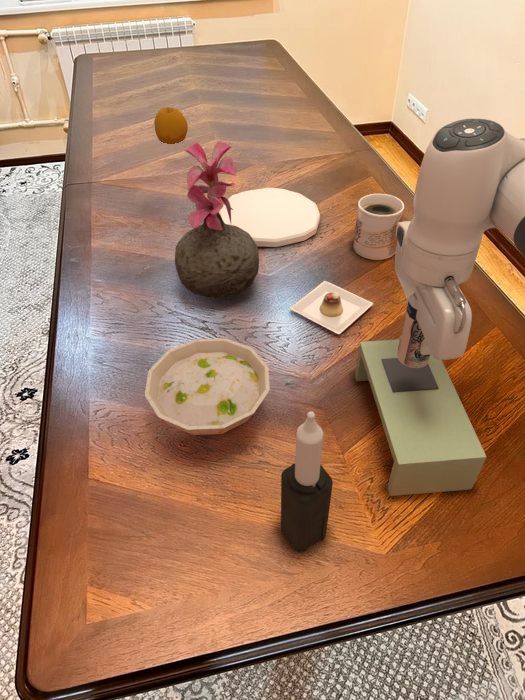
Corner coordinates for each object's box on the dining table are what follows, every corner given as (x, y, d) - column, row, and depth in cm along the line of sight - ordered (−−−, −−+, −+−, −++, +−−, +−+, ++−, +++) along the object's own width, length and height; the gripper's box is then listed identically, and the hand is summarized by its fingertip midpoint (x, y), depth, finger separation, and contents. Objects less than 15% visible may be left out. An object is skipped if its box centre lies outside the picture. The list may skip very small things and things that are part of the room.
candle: (298, 555, 71) (305, 440, 53) (277, 525, 74) (277, 407, 57) (329, 535, 73) (345, 418, 55) (307, 507, 76) (316, 387, 58)
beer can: (408, 374, 78) (424, 310, 70) (390, 353, 82) (403, 290, 73) (435, 364, 80) (454, 301, 71) (416, 344, 83) (431, 281, 75)
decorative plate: (337, 220, 124) (233, 240, 118) (336, 236, 126) (234, 256, 121) (298, 174, 141) (206, 190, 136) (298, 189, 144) (208, 205, 138)
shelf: (422, 370, 95) (431, 335, 89) (471, 489, 77) (487, 456, 72) (354, 375, 94) (359, 340, 88) (389, 496, 77) (398, 463, 71)
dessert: (288, 312, 107) (289, 293, 103) (324, 284, 113) (326, 265, 110) (338, 338, 101) (340, 319, 97) (373, 307, 107) (376, 288, 104)
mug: (344, 253, 121) (348, 209, 114) (360, 227, 129) (366, 184, 121) (389, 264, 118) (397, 219, 110) (403, 237, 126) (412, 193, 118)
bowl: (282, 383, 93) (282, 341, 86) (256, 477, 79) (254, 436, 72) (176, 367, 96) (169, 325, 89) (134, 454, 83) (121, 413, 76)
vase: (181, 318, 106) (158, 174, 85) (177, 267, 118) (156, 131, 98) (265, 308, 108) (262, 164, 87) (252, 259, 120) (248, 124, 99)
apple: (193, 141, 167) (189, 102, 159) (183, 154, 161) (178, 114, 152) (164, 139, 169) (158, 100, 161) (152, 152, 162) (146, 112, 154)
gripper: (495, 305, 61) (465, 388, 70) (437, 214, 75) (419, 292, 85) (440, 309, 60) (418, 391, 70) (393, 216, 75) (380, 295, 85)
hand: (418, 336), depth 78 cm, fingers closed on beer can, 5 cm apart
